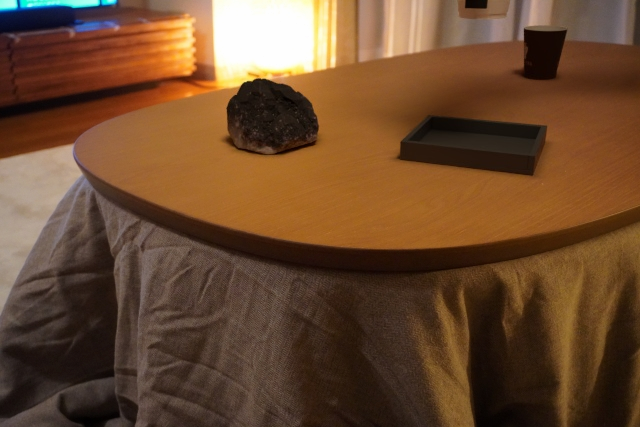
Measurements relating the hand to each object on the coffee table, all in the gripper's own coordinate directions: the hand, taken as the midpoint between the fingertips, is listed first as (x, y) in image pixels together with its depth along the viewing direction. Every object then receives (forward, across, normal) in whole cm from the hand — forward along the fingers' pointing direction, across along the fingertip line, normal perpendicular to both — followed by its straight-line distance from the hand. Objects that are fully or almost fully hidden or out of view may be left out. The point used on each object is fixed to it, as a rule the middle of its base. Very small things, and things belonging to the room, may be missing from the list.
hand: (483, 4), depth 84 cm
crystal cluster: (+20, +10, -28) cm, 36 cm away
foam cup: (+2, 0, 0) cm, 2 cm away
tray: (+19, +4, +1) cm, 20 cm away
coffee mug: (+20, -52, +4) cm, 56 cm away
